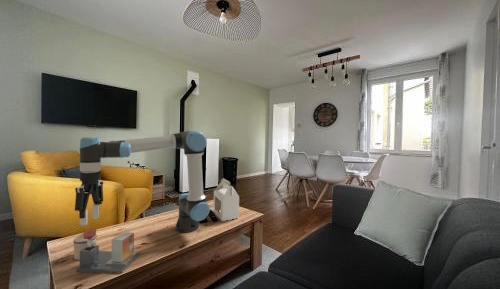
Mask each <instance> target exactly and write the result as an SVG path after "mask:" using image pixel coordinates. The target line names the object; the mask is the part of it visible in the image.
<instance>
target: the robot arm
mask: <svg viewBox="0 0 500 289" xmlns="http://www.w3.org/2000/svg"><path fill="white" fill-rule="evenodd" d="M207 142H208V141H207V138H206V135H204V133H203V132H202V131H199V130H198V131H197V130H185V131H181V132H177V133H176V132H175V133H171V134H170V135H164V136H154V137H153V136H152V137H143V138H133V139H124V140H123V139H122V140H109V141H107V142H106V141H102V139H101V137H90V136H89V137H88V136H87V137H82V138H80V140H79V181H80V182H81V185H80V186H79V187H75V203H74V211H75V212H79V214H78V217H79V225H80V226H87V225H88V209H87V206H88V203H89V199H90V196H91V198H92V202H93V204H92V206H91V210H92V211H91V212H92V213H91V220H92V219H94V220H97V219H100V210H101V209H100V206H101V205H102V204H103V202H104V187H103V186H104V181H99V180H101V168H102V165H101V164H102V163H101V161H102V160H101V159H109V158H111V159H113V158H114V159H115V158H116V159H117V158H130V156H131V154H133V153H134V154H136V153H140V152H141V153H142V152H149V151H158V150H163V149H164V150H166V149H173V150H176V149H182V150H183V154H184V156H186V160H187V161H186V163H187V164H186V166H187V167H186V168H187V181H188V182H187V184H188V192H185V193H181V194H179V196H178V216H177V217H178V218H177V220H176V223H175V230H176V231H177V232H179V233H192V232H194V231H197V230H198V229H199V228H200V222H201V221H202V220H204V219H206V218H207V216H208V215H209V213H210V205H209V204H208V203H207V195H205V193H204V182H203V181H204V180H203V160H202V159H203V157H202V156H203V155H204V153H205V148H206V146H207V144H208V143H207Z"/></svg>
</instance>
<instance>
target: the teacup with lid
mask: <svg viewBox="0 0 500 289" xmlns="http://www.w3.org/2000/svg"><path fill="white" fill-rule="evenodd" d="M92 245H97V235H96V236H95V237H93V238H92ZM86 246H87V239H84V238H83V233H81V235H77V236H76V237H75V238H74V239H73V259H74V260H76V261H77V260H78V261H80V251H81V250H82V249H84V248H85V247H86Z"/></svg>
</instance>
